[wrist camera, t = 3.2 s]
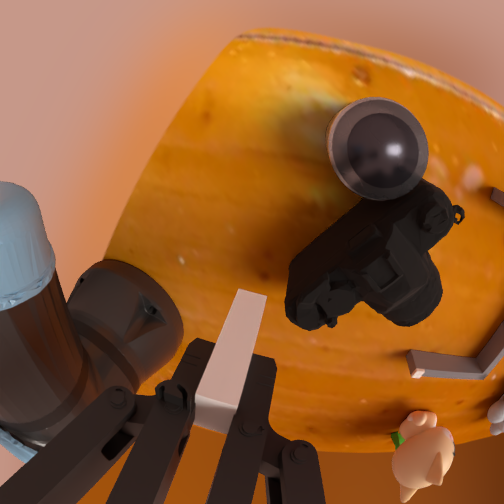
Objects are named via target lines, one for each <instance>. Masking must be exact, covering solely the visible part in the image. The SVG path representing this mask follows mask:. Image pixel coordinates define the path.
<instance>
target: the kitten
mask: <svg viewBox="0 0 504 504" xmlns="http://www.w3.org/2000/svg"><path fill="white" fill-rule="evenodd" d="M436 421H437V417H436V415H435V414H434V413H433V412H429V411H414V412H412V413H410V414H409V415H408V417H407V418H406V419H405V420H404V421H403V422H402V424H401V425H400V428H399V431H400V434H398V431H397V432H395V433H392V434H391V438H392V440H393V442H394V444H395V449H396V451H395V453H394V456H393V459H392V468H393V472H394V475H395V477H396V479H397V480H398V482H399V483H400V489H401V493H400V500H401V502H403V503H405V502H406V501H408V500H409V499H410V498H411V496H412V495H413V494H414V493H415V492H416V490H417V489H418V488H423V487H427V486H429V485H431V484H436V485H441V484H442V480H443V476H444V475H445V473H446V472H447V470H448V469H449V467H450V465H451V463H452V460H453V456H455V453H454V451H455V444H454V442H453V437H452V435H451V433H450V431H449V430H448V429H446V428H444V427H435V426H436ZM405 440H406V441H405Z"/></svg>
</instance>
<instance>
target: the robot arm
mask: <svg viewBox="0 0 504 504" xmlns="http://www.w3.org/2000/svg"><path fill="white" fill-rule="evenodd" d="M266 299H267V296H265V295H261V294H257V293H254V292H250V291H246V290H242V289H238V291H237V294H236V296H235V299H234V301H233V304H232V306H231V308H230V311H229V313H228V316H227V318H226V321H225V323H224V325H223V328H222V330H221V333H220V335H219V338H218V340H217V343H213V342H209V341H206V340H203V339H200V338H196V339H195V340H194V341H192V342H191V343H190V344H189V345H188V347H187V349H186V351H185V353H184V355H183V357H182V359H181V361H180V363H179V365H178V366H177V368H176V370H175V372H174V374H173V376H172V378H171V380H165V381H163V382H161V383H159V384H158V385H157V386H156V387H155V392H156V395H153V396H145V395H137V394H136V392H137V391H138V389H139V387H140V386H141V384H142V383H143V382H144V381H146V380H147V379H148V378H149V377H151V376H152V375H153V374H154V373H155V372H157V371H158V370H159V369H160V368H162V367H163V366H164V365H165V364H166V363H168V362H169V361H170V360H171V359H172V358H173V357H174V355H175V354H176V352H177V350H178V348H179V346H180V344H181V342H182V339H183V333H184V330H183V323H182V319H181V316H180V314H179V311H178V309H177V308H176V306H175V304H174V302H173V301H172V299H171V298H170V297H169V295H168V294H167V293H166V292H165V291H164V289H163V288H162V287H161V286H160V285H159V284H158V283H157V282H155V281H154V280H153V279H152V278H151V277H149V276H148V275H147V274H145V273H144V272H142V271H141V270H139V269H137V268H135V267H133V266H131V265H129V264H126V263H124V262H120V261H115V260H104V261H100V262H97V263H95V264H94V265H92V266H91V267H90V268H89V269H88V270H86V271H85V272H84V273H83V274H82V275H81V276H80V278H79V279H78V281H77V283H76V285H75V288H74V289H73V291H72V293H71V295H70V297H69V299H68V301H67V303H66V301H65V298H64V295H63V292H62V288H61V285H60V282H59V279H58V275H57V272H56V268H55V255H54V251H53V249H52V246H51V244H50V242H49V241H48V239H47V235H46V232H45V228H44V224H43V220H42V216H41V212H40V209H39V205H38V203H37V201H36V199H35V198H34V196H33V195H32V194H31V193H30V192H29V191H28V190H27V189H25V188H24V187H22V186H19V185H16V184H14V183H10V182H1V181H0V444H1V445H2V446H4V447H5V448H6V449H7V450H8V451H9V452H11V453H12V454H13V455H14V456H16V457H17V458H18V459H20V460H21V461H23V462H24V463H26V464H25V465H24V466H23V467H21V468H20V469H19V470H18V471H17V472H16V473H15V474H14V475H13V476H12V477H11V478H9V480H7V481H6V482H5V483H4V484H3V485H2V486H1V487H0V504H76V503H77V502H78V501H79V500H80V499H81V498H82V497H83V496H84V495H85V494H86V493H87V492H88V491H89V490H90V489H91V488H92V487H93V486H94V485H95V484H96V483H97V482H98V481H99V480H100V479H101V478H102V476H103V475H104V474H105V473H106V472H107V471H108V470H109V469H110V468H111V467H112V466H113V465H114V464H115V463H116V461H118V459H119V458H120V457H121V456H122V455H123V454H124V453H125V452H126V451H127V449H129V447H130V446H131V445H132V444H133V443H134V442H135V441H136V442H135V444H134V446H133V448H132V450H131V452H130V454H129V456H128V458H127V460H126V462H125V464H124V466H123V468H122V471H121V472H120V475H119V477H118V479H117V481H116V483H115V485H114V487H113V489H112V491H111V493H110V495H109V498H108V500H107V502H106V504H163V503H164V501H165V498H166V496H167V493H168V491H169V488H170V486H171V483H172V480H173V478H174V475H175V473H176V470H177V467H178V465H179V462H180V460H181V457H182V454H183V452H184V449H185V447H186V444H187V442H188V439H189V436H190V430H191V427H192V425H193V422H194V425H197V426H201V427H204V428H207V429H210V430H214V431H217V432H221V433H224V434H227V438H226V441H225V444H224V447H223V449H222V453H221V457H220V460H219V463H218V466H217V469H216V472H215V476H214V479H213V482H212V485H211V488H210V491H209V494H208V497H207V500H206V503H205V504H251V503H252V499H253V494H254V490H255V486H256V482H257V477H258V473H261V474H263V475H265V483H266V495H267V504H326V502H325V496H324V490H323V484H322V478H321V472H320V467H319V461H318V455H317V452H316V449H315V447H314V446H313V445H312V444H311V443H309V442H307V441H305V440H294V441H290V440H288V439H286V438H284V437H282V436H280V435H279V434H277V433H276V432H275V431H274V430H273V429H272V428H271V426H270V424H269V420H268V415H269V410H270V405H271V399H272V394H273V389H274V383H275V378H276V372H277V367H276V364H275V360H274V359H273V358H269V357H265V356H261V355H257V354H253V350H254V346H255V342H256V338H257V334H258V330H259V327H260V323H261V319H262V315H263V311H264V307H265V303H266Z"/></svg>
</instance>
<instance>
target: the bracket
mask: <svg viewBox="0 0 504 504" xmlns="http://www.w3.org/2000/svg"><path fill="white" fill-rule="evenodd" d="M490 199H492V200H493V201H495V202H497V203H498V204H500V205H501V206H503V207H504V192H502V191H500V190H499V189H497V188H495V187H494V189H493V192H492V195H491V198H490ZM503 356H504V320H503V322H502V323H501V325H500V326H499V328H498V329H497V331H496V332H495V333H494V335H493V336H492V338H491V339H490V340H489V342H488V343H487V344H486V346H485V347H484V348H483V350H482V351H481V352H480V353H479V355H478V356H477V357H476V358H471V357H462V356H454V355H446V354H438V353H431V352H424V351H418V350H410V351H409V353H408V354H407V355H406V359H407V362H408V366H409V370H410V374H411V378H420V377H421V376H427V377H439V378H454V379H479V380H484V378H485V377H486V376H487V375H488V374H489V373H490V372H491V370H492V369H493V368H494V367H495V366H496V365H497V363H498V362H499V361H500V360H501V359H502V357H503Z"/></svg>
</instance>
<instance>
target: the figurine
mask: <svg viewBox="0 0 504 504" xmlns="http://www.w3.org/2000/svg"><path fill="white" fill-rule="evenodd" d="M487 417H488V420H489V421H490V422H491V423H492V424H491V427H490V432H491V434H493V435H497V434H499V433H501V432H504V394H503V395H502V396H501V398H500V399H499V400H498V401H497V402H495V403H494V404H492V405H491V407H490V408H489V410H488V414H487Z"/></svg>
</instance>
